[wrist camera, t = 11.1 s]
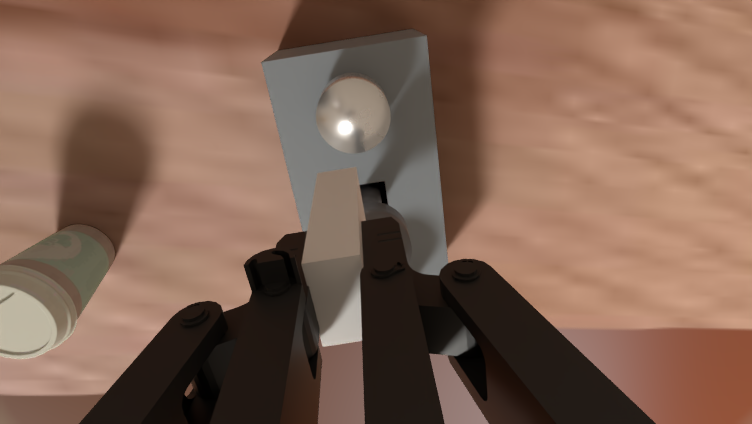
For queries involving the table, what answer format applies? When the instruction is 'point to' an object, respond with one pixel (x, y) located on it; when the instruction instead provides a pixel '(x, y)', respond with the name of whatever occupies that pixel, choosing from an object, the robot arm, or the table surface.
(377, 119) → the knob
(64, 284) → the coffee cup
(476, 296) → the robot arm
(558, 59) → the table surface
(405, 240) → the pot knob
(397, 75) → the console
